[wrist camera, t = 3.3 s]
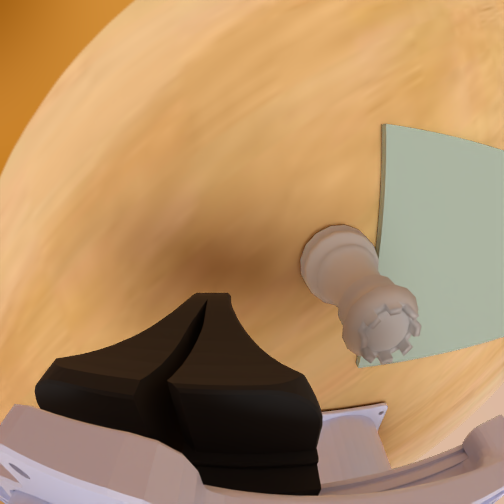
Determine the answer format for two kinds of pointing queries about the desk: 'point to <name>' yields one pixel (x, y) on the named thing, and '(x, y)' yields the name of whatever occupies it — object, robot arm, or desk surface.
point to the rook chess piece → (360, 293)
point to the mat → (443, 237)
